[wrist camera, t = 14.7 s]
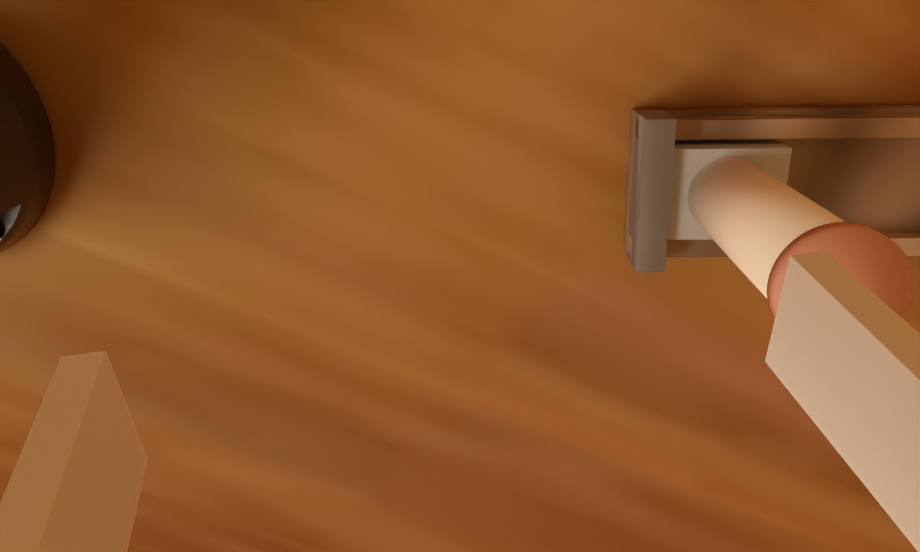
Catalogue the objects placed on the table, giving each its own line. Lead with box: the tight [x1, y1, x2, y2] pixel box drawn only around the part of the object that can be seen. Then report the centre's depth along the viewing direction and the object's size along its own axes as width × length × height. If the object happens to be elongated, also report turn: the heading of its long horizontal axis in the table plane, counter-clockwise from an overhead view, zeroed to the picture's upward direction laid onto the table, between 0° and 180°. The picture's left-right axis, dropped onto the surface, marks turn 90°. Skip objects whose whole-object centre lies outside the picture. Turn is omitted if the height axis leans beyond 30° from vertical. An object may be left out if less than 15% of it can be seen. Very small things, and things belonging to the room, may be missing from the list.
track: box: [624, 105, 920, 272], centre depth 40 cm, size 20×8×4 cm, turn 91°
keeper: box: [667, 141, 912, 318], centre depth 33 cm, size 6×5×16 cm
